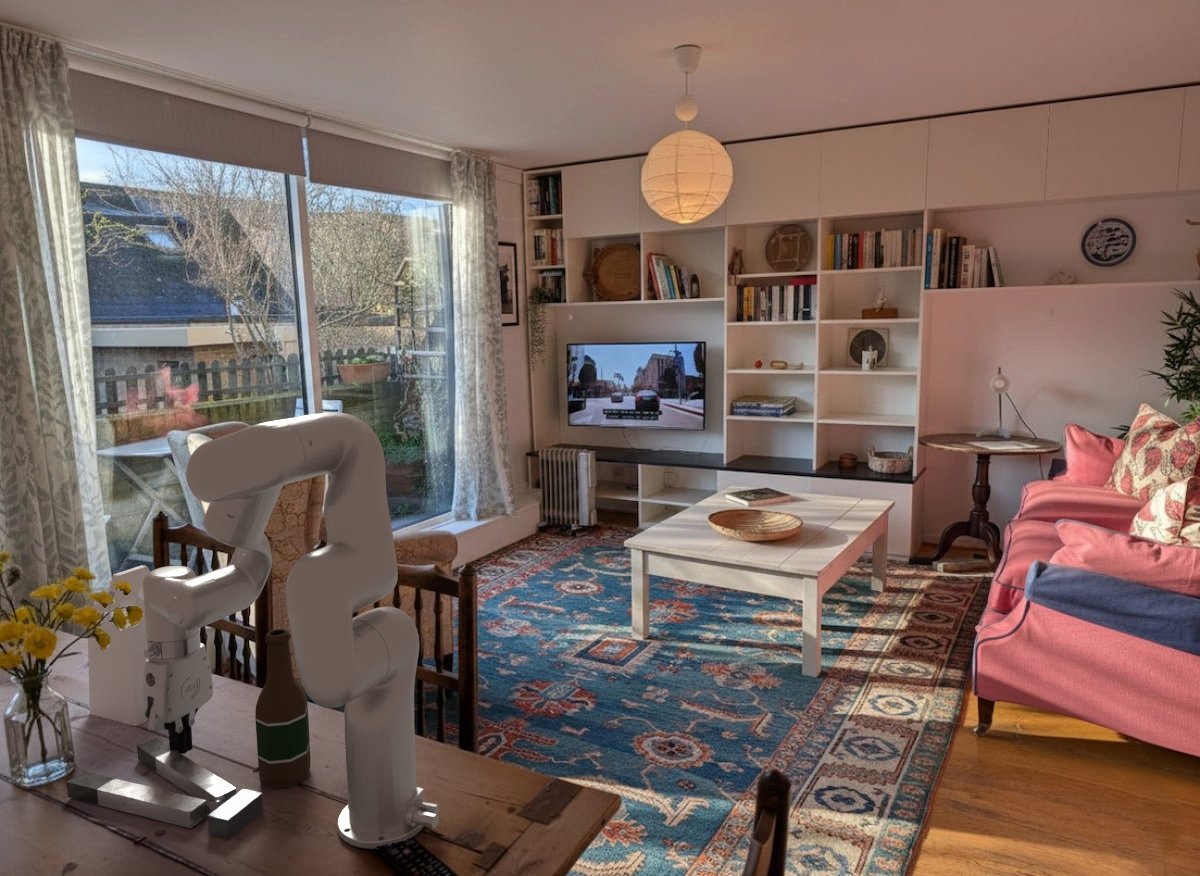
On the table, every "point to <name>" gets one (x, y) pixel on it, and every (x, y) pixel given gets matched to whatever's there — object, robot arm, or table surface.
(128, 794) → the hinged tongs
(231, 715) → the table surface
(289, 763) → the beer bottle
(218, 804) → the tongs arm
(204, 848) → the table surface
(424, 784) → the table surface
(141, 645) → the milk
